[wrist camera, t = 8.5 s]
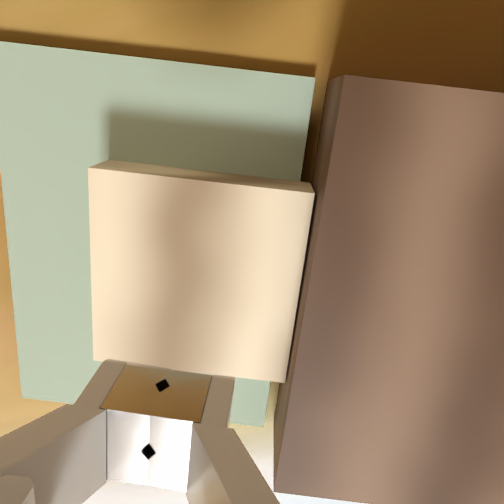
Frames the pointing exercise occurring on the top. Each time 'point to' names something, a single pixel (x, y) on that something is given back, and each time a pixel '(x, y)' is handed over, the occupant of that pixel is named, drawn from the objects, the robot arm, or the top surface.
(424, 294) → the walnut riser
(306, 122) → the rubber mat
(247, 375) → the birch tile
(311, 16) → the top surface
